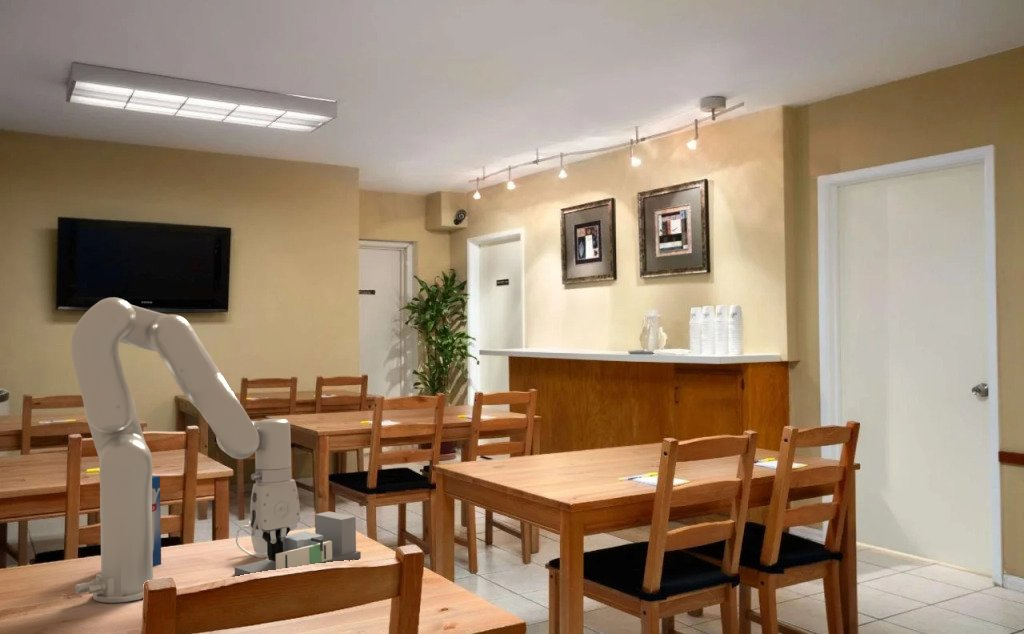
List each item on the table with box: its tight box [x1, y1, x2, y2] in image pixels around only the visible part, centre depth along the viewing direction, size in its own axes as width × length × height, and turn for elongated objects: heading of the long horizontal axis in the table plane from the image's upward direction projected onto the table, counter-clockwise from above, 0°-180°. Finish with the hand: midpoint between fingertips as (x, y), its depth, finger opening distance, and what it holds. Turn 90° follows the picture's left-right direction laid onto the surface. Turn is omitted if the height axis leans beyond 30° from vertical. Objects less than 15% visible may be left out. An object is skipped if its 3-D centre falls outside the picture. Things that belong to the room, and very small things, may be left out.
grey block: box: [283, 530, 323, 552], centre depth 188 cm, size 8×12×5 cm, turn 49°
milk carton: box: [152, 475, 162, 567], centre depth 190 cm, size 10×6×20 cm, turn 146°
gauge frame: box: [234, 510, 362, 576], centre depth 188 cm, size 25×12×10 cm, turn 139°
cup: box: [235, 520, 268, 559], centre depth 198 cm, size 7×10×8 cm
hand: (275, 559), depth 184 cm, fingers closed
